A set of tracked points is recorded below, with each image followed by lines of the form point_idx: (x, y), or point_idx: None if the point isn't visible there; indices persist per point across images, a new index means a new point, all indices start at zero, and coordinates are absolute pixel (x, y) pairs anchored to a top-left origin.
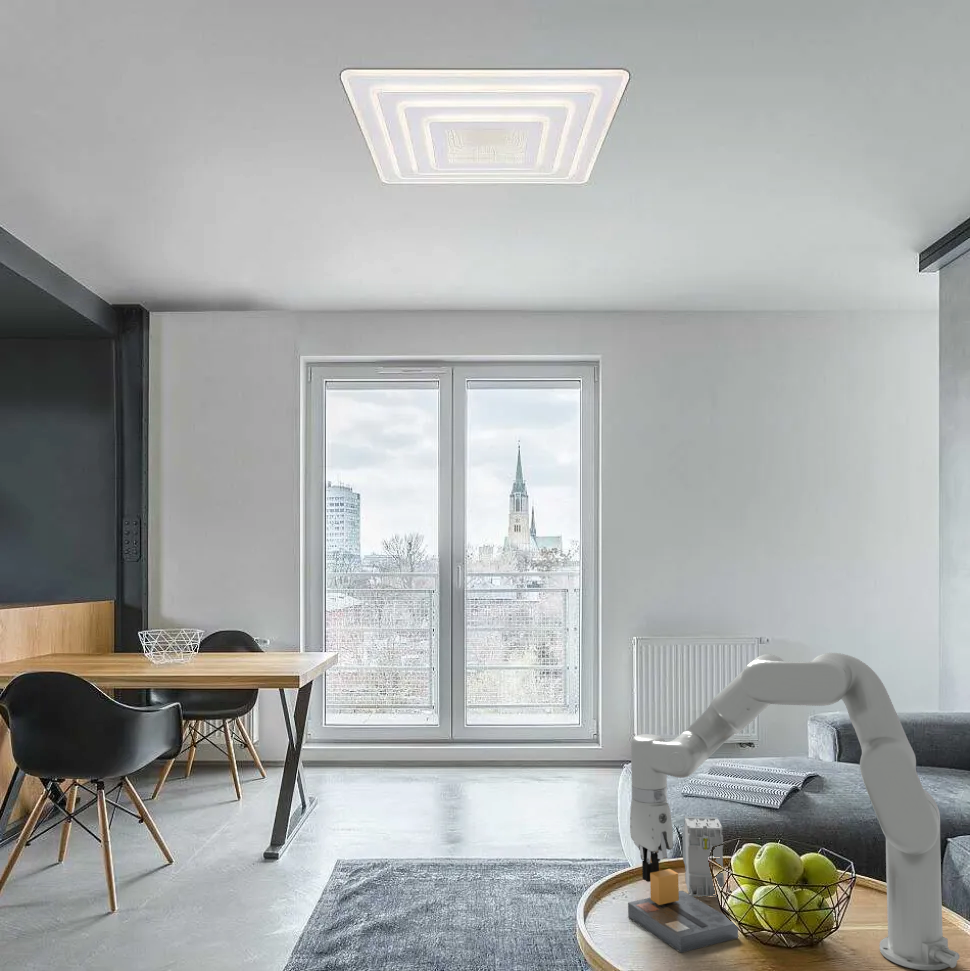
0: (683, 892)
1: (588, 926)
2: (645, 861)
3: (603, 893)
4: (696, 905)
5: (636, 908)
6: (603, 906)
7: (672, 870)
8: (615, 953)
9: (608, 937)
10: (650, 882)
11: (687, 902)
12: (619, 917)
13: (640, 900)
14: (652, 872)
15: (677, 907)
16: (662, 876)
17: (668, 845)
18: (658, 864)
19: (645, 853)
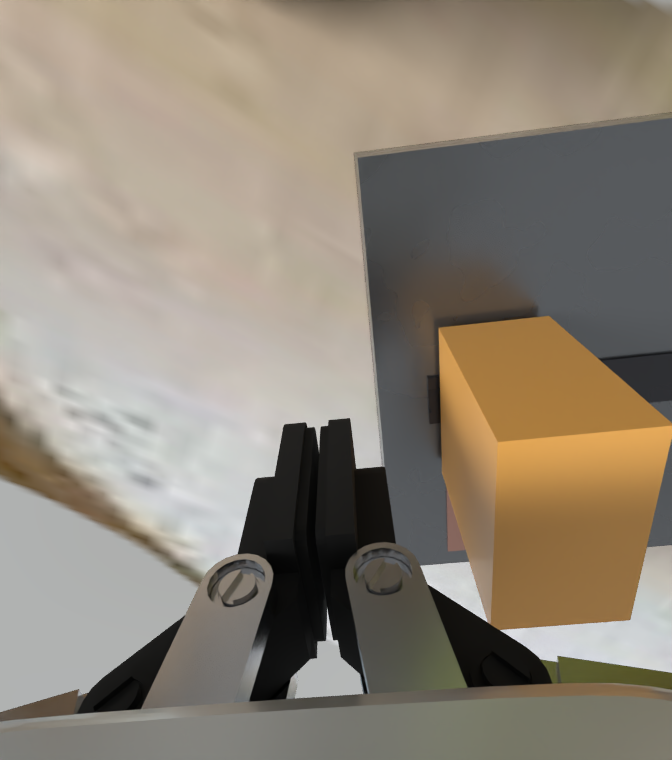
0: (402, 171)
1: None
2: (311, 639)
3: (79, 501)
4: (664, 210)
5: None
6: (235, 554)
7: (556, 436)
8: (642, 658)
9: (520, 636)
10: (469, 559)
11: (581, 250)
12: None
13: (398, 507)
14: (492, 613)
15: (612, 365)
16: (629, 586)
17: (620, 750)
18: (352, 506)
19: (256, 696)
